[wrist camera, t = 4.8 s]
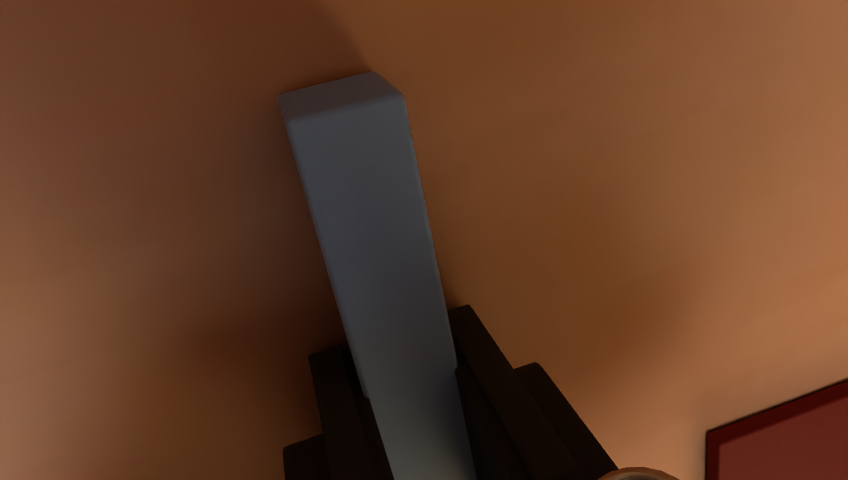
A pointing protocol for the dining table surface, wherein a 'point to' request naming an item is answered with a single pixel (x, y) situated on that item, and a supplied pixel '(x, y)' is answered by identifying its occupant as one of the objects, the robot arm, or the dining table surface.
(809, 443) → the maroon mat
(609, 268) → the dining table surface
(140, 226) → the dining table surface
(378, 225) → the grey spoon
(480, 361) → the robot arm
